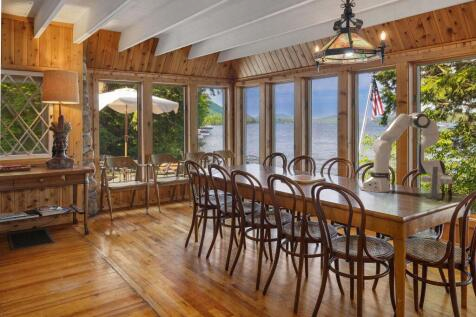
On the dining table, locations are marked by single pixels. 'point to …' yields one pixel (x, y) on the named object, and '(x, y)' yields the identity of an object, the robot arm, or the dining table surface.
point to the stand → (434, 185)
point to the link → (437, 185)
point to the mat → (425, 194)
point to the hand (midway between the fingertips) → (436, 181)
